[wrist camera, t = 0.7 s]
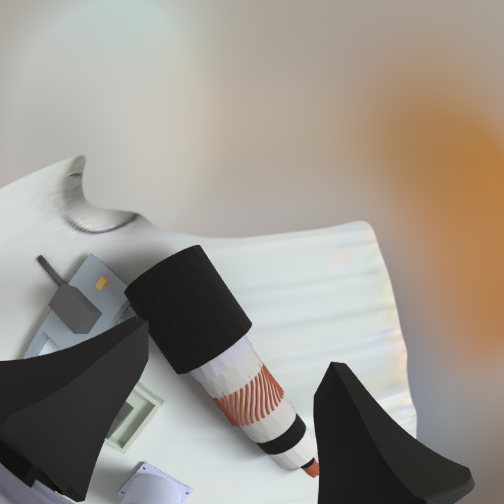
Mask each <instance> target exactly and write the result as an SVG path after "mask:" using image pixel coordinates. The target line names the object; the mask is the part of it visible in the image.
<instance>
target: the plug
mask: <svg viewBox="0 0 504 504" xmlns="http://www.w3.org/2000/svg"><path fill="white" fill-rule="evenodd" d="M133 409H134V407H132V406H131V405H130V404H129V403H127V402H126V401H125V403H124V405H123V406H122V408H121V409H120V411H119V413H118V414H117V416H116V417H115V419H114V421H113V423H112V425H111V427H110V429H109V431H108V434H107V436H106V439H107V440H108V439H109V438H110V437H111V436H112V435H113V433H114V432H115V431H116V430H117V429H118V428H119V427H120V426H121V425H122V424H123V422H124V421H125V419H126V418H127V417H128V415H129V414H130V413H131V411H132V410H133Z"/></svg>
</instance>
